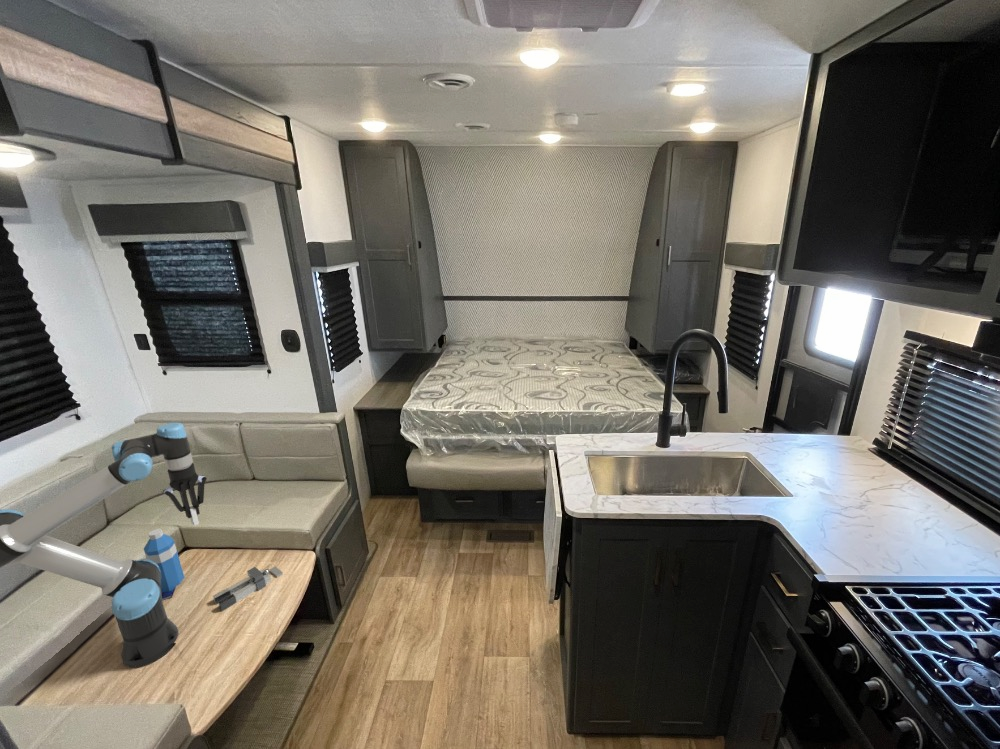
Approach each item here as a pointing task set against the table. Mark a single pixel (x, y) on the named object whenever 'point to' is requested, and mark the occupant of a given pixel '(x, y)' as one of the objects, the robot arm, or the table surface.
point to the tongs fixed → (246, 590)
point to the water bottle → (164, 559)
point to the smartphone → (167, 594)
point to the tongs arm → (235, 588)
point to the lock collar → (257, 577)
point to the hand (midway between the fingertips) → (195, 523)
